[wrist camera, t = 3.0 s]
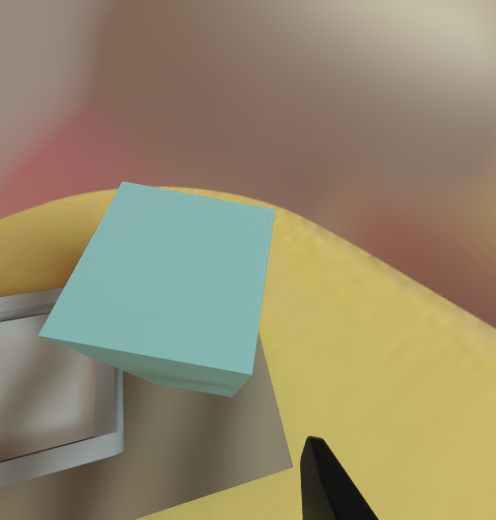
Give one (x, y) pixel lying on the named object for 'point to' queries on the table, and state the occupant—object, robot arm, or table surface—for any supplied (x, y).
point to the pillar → (169, 289)
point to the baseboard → (118, 430)
